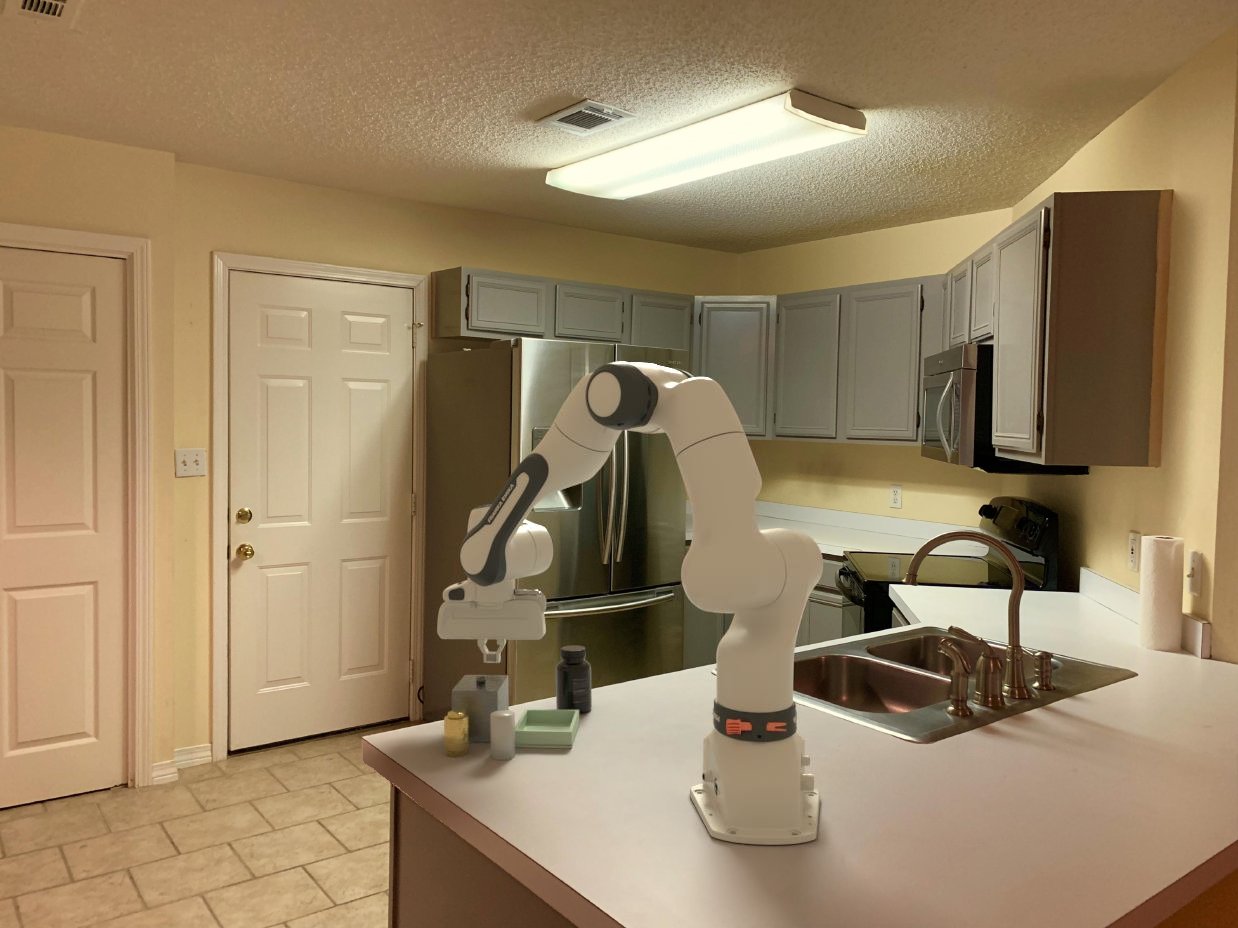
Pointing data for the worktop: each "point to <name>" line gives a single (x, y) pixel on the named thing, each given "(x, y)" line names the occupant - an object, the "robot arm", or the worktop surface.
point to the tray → (547, 728)
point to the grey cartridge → (502, 735)
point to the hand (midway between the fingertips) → (492, 661)
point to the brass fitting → (456, 733)
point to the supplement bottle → (573, 680)
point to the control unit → (480, 702)
